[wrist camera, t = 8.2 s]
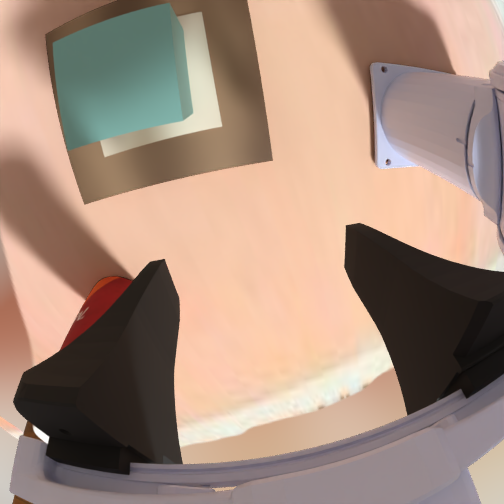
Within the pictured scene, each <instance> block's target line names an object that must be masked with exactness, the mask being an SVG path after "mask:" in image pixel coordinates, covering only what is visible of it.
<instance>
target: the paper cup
mask: <svg viewBox="0 0 504 504" xmlns="http://www.w3.org/2000/svg"><path fill="white" fill-rule="evenodd" d="M132 282H133V281H131V280H129V279H126V278H123V277H117V276H112V277H106V278H103V279H101V280H100V281H99V282H98V283H97V284H96V285H95V286H94V288H93V289H92V291H91V292H90V294H89V296H88V297H87V299H86V301H85V302H84V304H83V306H82V308H81V310H80V311H79V313H78V315H77V317H76V319H75V321H74V323H73V325H72V327H71V329H70V330H69V332H68V334H67V336H66V338H65V341H64V343H63V345H62V347H61V349H60V350H62V349H63V348H64V347H66V346H67V345H69V344H70V343H71V342H72V341H74V340H75V339H76V338H77V337H78V336H80V335H81V334H82V333H83V332H85V331H86V330H87V329H88V328H89V327H90V326H92V325H93V324H94V323H95V322H96V321H97V320H98V319H99V318H100V317H101V316H102V315H103V314H104V313H105V312H106V311H107V310H108V309H109V308H110V307H111V306H112V304H113V303H114V302H115V301H116V300H117V299H118V298H119V297H120V296H121V294H122V293H123V292H124V291H125V290H126V289H127V288H128V286H129V285H130V284H131V283H132ZM33 430H34V432H35V434H36V435H37V436H38V437H39V438H40V439H42V440H43V441H44V442H46V443H47V444H48V441H49V436H47V435H46V434H45V433H43V432H42V431H41V430H39V429H38V428H37V427H35V426H34V425H33Z"/></svg>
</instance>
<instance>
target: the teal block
mask: <svg viewBox="0 0 504 504" xmlns="http://www.w3.org/2000/svg"><path fill="white" fill-rule="evenodd" d="M53 57H54V69H55V79H56V87H57V95H58V102H59V108H60V114H61V120H62V125H63V130H64V135H65V140H66V145H67V149H68V151H70V150H72V149H75V148H78V147H81V146H85V145H88V144H91V143H94V142H97V141H101V140H104V139H108V138H111V137H115V136H118V135H122V134H126V133H130V132H134V131H138V130H142V129H146V128H151V127H155V126H160V125H165V124H170V123H175V122H180V121H184V120H185V119H186V118H188V117H189V116H190V115H192V114H193V107H192V99H191V91H190V83H189V75H188V67H187V58H186V49H185V40H184V30H183V28H182V26H181V24H180V22H179V20H178V18H177V16H176V14H175V12H174V10H173V8H172V7H171V5H170V3H165V4H161V5H157V6H152V7H148V8H144V9H141V10H137V11H133V12H130V13H127V14H123V15H120V16H117V17H114V18H111V19H108V20H105V21H103V22H100V23H97V24H94V25H92V26H89V27H87V28H84V29H82V30H80V31H77V32H75V33H73V34H70V35H68V36H66V37H64V38H62V39H60V40H58V41H55V42H53Z"/></svg>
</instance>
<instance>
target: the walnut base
mask: <svg viewBox="0 0 504 504" xmlns="http://www.w3.org/2000/svg"><path fill="white" fill-rule="evenodd" d="M165 3H170V5H171V7H172V8H173V10H174V12H175V14H176V16H177V18H178V20H179V22H180V24H181V26H182V28H183V30H184V40H185V49H186V58H187V67H188V75H189V83H190V91H191V99H192V107H193V114H192V115H190V116H189V117H188V118H186V119H185V120H184V121H180V122H175V123H170V124H165V125H160V126H155V127H151V128H146V129H142V130H138V131H134V132H130V133H126V134H122V135H118V136H115V137H111V138H108V139H104V140H101V141H97V142H94V143H91V144H88V145H85V146H81V147H78V148H75V149H72V150H70V151H68V149H67V145H66V140H65V135H64V130H63V125H62V120H61V114H60V108H59V102H58V95H57V87H56V79H55V69H54V57H53V42H55V41H58V40H60V39H62V38H64V37H66V36H68V35H70V34H73V33H75V32H77V31H80V30H82V29H84V28H87V27H89V26H92V25H94V24H97V23H100V22H103V21H105V20H108V19H111V18H114V17H117V16H120V15H123V14H127V13H130V12H133V11H137V10H141V9H144V8H148V7H152V6H157V5H161V4H165ZM46 46H47V55H48V63H49V70H50V76H51V82H52V88H53V94H54V99H55V104H56V108H57V113H58V117H59V122H60V126H61V130H62V134H63V138H64V142H65V145H66V149H67V152H68V156H69V159H70V163H71V166H72V169H73V172H74V175H75V178H76V182H77V185H78V187H79V190H80V193H81V196H82V199H83V202H84V204H88V203H91V202H94V201H98V200H101V199H104V198H108V197H111V196H114V195H118V194H121V193H125V192H129V191H132V190H136V189H140V188H143V187H147V186H151V185H155V184H159V183H163V182H167V181H171V180H175V179H180V178H184V177H188V176H193V175H197V174H202V173H207V172H212V171H217V170H222V169H227V168H232V167H237V166H243V165H249V164H254V163H260V162H267V161H273V159H272V151H271V144H270V137H269V130H268V123H267V116H266V109H265V102H264V96H263V89H262V83H261V77H260V70H259V64H258V58H257V52H256V47H255V41H254V35H253V30H252V24H251V19H250V13H249V8H248V3H247V0H117V1H115V2H112V3H109V4H107V5H104V6H102V7H100V8H97V9H95V10H93V11H90V12H88V13H86V14H84V15H82V16H79V17H77V18H75V19H73V20H71V21H69V22H67V23H65V24H64V25H62V26H60V27H58V28H56V29H54V30H53V31H51V32H49V33H47V34H46Z"/></svg>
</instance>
